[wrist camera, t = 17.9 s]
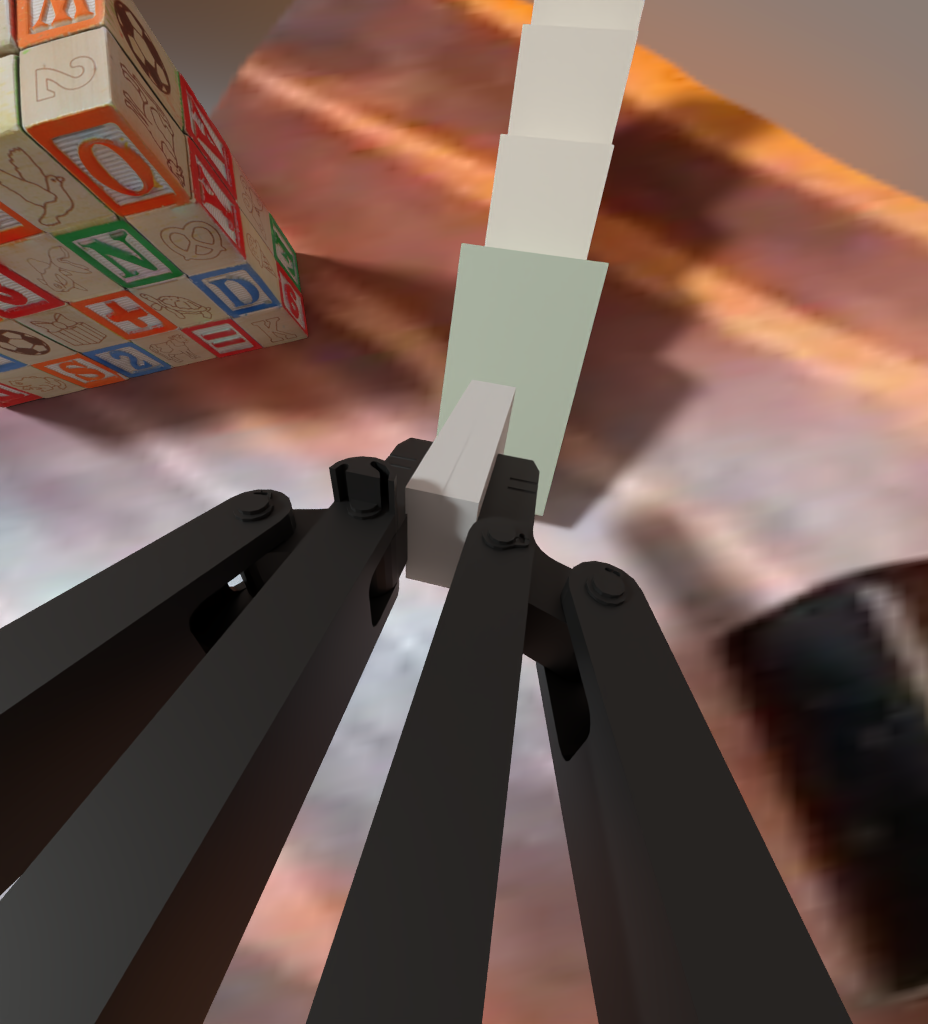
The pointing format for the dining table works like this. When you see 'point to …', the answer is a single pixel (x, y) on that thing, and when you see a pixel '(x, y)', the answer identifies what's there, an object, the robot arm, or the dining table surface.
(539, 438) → the sage domino
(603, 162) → the domino
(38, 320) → the stack of blocks
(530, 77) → the domino
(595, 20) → the domino
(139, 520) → the dining table surface
